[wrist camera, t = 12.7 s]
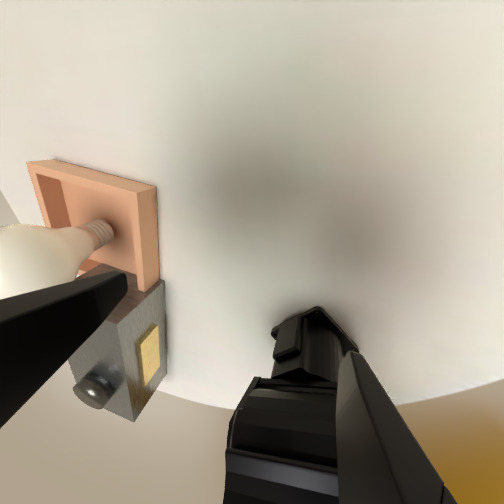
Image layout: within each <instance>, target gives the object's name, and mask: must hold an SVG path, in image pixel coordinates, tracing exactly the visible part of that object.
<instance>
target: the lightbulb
mask: <svg viewBox="0 0 504 504" xmlns="http://www.w3.org/2000/svg"><path fill="white" fill-rule="evenodd" d="M113 240H114V232H113V229H112V228H111V226H110V225H109V224H108V223H107V222H105V221H104V220H101V219H95V220H93V221H90V222H88V223H85V224H82V225H80V226H77V227H63V228H48V227H43V226H37V225H29V224H14V225H7V226H2V227H0V299H4V298H8V297H12V296H16V295H20V294H24V293H28V292H32V291H36V290H40V289H43V288H47V287H51V286H55V285H59V284H63V283H67V282H71V281H74V279H75V278H76V275H77V273H78V271H79V268H80V266H81V264H82V263H83V262H84V261H85V260H86V259H88V258H89V257H90V256H91V255H92V253H93V252H94V251H96V250H97V249H98V248H101V247H103V246H105V245H107V244H108V243H111V242H112V241H113Z"/></svg>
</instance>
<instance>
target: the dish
mask: <svg viewBox="0 0 504 504" xmlns="http://www.w3.org/2000/svg"><path fill="white" fill-rule="evenodd" d="M26 164H27V167H28V171H29V174H30V177H31V181H32V184H33V187H34V190H35V194H36V197H37V200H38V203H39V207H40V210H41V213H42V217H43V220H44V223H45V226H46V227H48V228H63V227H77V226H80V225H82V224H85V223H88V222H90V221H93V220H95V219H101V220H104V221H105V222H107V223H108V224H109V225H110V226H111V228H112V229H113V232H114V240H113V241H112V242H111V243H108V244H107V245H105V246H103V247H101V248H98V249H97V250H96V251H94V252H93V253H92V255H91V256H90V257H89V258H88V259H86V260H85V261H84V262H83V263H82V264H81V266H80V268H79V271H78V273H77V274H79V275H82V274H84V273H86V272H87V271H89V270H91V269H93V268H94V267H96V266H98V265H100V264H101V263H104V264H107V265H110V266H112V267H115V268H118V269H121V270H124V271H127V272H130V273H133V274H136V275H137V282H138V290H140V291H143V292H146V291H147V290H148V289H149V288H150V287H151V286H152V285H154V284H155V283H156V282H157V281H158V280H159V253H158V227H157V200H156V187H155V186H151V185H147V184H144V183H140V182H136V181H132V180H129V179H125V178H121V177H118V176H114V175H110V174H106V173H103V172H99V171H95V170H91V169H88V168H84V167H80V166H77V165H73V164H69V163H65V162H62V161H58V160H54V159H53V160H42V161H31V162H26Z"/></svg>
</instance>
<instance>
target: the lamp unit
mask: <svg viewBox="0 0 504 504" xmlns="http://www.w3.org/2000/svg"><path fill="white" fill-rule="evenodd" d="M114 270H118V271H121V272H124V273H126V275H127V281H128V292H127V294H126V295H125V296H124V298H123V299H122V300H121V301H120V303H119V304H118V305H117V306H116V308H115V309H114V310H113V311H112V312H111V314H110V315H109V316H108V317H107V319H106V320H105V321H104V322H103V323H102V325H101V326H100V327H99V328H98V329H97V330H96V331H95V332H94V333H93V334H92V335H91V336H90V337H89V338H88V339H87V340H86V341H85V342H84V343H83V344H82V345H81V346H80V347H79V348H78V349H77V350H76V351H75V352H74V353H73V354H72V356H71V357H70V358H69V359H68V361H69V364H70V367H71V370H72V372H73V375H74V378H75V380H76V383H77V384H76V385H75V386H74V387H73V391H74V393H75V394H76V395H77V397H78V398H79V399H80V400H81V401H83V402H84V403H85V404H87V405H89V406H91V407H93V408H96V409H102V408H104V409H106V410H108V411H111V412H113V413H115V414H117V415H119V416H122V417H123V418H126V419H128V420H130V421H132V422H135V420H136V419H137V417H138V416H139V414H140V413H141V411H142V410H143V408H144V407H145V405H146V404H147V402H148V401H149V399H150V398H151V396H152V395H153V393H154V392H155V390H156V389H157V387H158V386H159V384H160V383H161V381H162V380H163V378H164V377H165V375H166V374H167V365H166V323H165V281H163V280H160V279H159V280H158V281H157V282H156V283H155V284H154V285H152V286H151V287H150V288H149V289H148V290H147V291H146V292H143V291H140V290H138V282H137V275H136V274H133V273H130V272H127V271H124V270H121V269H118V268H115V267H112V266H110V265H107V264H104V263H101V264H100V265H98V266H96V267H94V268H93V269H91V270H89V271H87V272H86V273H84V274H82V275H80V276H79V277H77V278H75V279H74V281H75V280H79V279H83V278H86V277H90V276H94V275H98V274H102V273H106V272H110V271H114Z"/></svg>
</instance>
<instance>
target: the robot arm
mask: <svg viewBox="0 0 504 504" xmlns="http://www.w3.org/2000/svg"><path fill="white" fill-rule="evenodd" d="M127 292H128V281H127V275H126V273H124V272H121V271H118V270H114V271H110V272H106V273H102V274H98V275H94V276H90V277H86V278H83V279H79V280H75V281H71V282H67V283H63V284H59V285H55V286H51V287H47V288H43V289H40V290H36V291H32V292H28V293H24V294H20V295H16V296H12V297H8V298H4V299H0V428H1V427H2V426H3V425H4V424H5V423H6V422H7V421H8V420H9V419H10V418H11V417H12V416H13V415H14V414H15V413H16V412H17V411H18V410H19V409H20V408H21V407H22V406H23V405H24V404H25V403H26V402H27V401H28V400H29V399H30V398H31V397H32V396H33V394H35V392H36V391H37V390H38V389H39V388H40V387H41V386H42V385H43V384H44V383H45V382H46V381H47V380H48V379H49V378H50V377H51V376H52V375H53V374H54V373H55V372H56V371H57V370H58V369H59V368H60V367H61V366H62V365H63V364H64V363H65V362H66V361H67V360H68V359H69V358H70V357H71V356H72V354H73V353H74V352H75V351H76V350H77V349H78V348H79V347H80V346H81V345H82V344H83V343H84V342H85V341H86V340H87V339H88V338H89V337H90V336H91V335H92V334H93V333H94V332H95V331H96V330H97V329H98V328H99V327H100V326H101V325H102V323H103V322H104V321H105V320H106V319H107V317H108V316H109V315H110V314H111V312H112V311H113V310H114V309H115V308H116V306H117V305H118V304H119V303H120V301H121V300H122V299H123V298H124V296H125V295H126V294H127ZM317 312H320V313H317ZM276 333H277V334H276ZM271 336H272V337H273V338H274V339H275V340H276V343H275V348H274V352H273V359H274V360H275V362H274V366H273V371H272V375H271V379H270V378H261V377H254V378H253V380H252V382H251V383H250V385H249V387H248V389H247V390H246V392H245V394H244V396H243V397H242V399H241V401H240V403H239V404H238V406H237V408H236V410H235V411H234V414H233V416H232V418H231V420H230V422H229V430H228V436H227V449H226V452H225V459H226V478H225V492H224V499H223V504H457V502H456V501H455V499H454V498H453V496H452V495H451V493H450V492H449V490H448V489H447V487H446V486H444V482H443V481H442V480H441V478H440V476H439V474H438V473H437V471H436V470H435V468H434V467H433V465H432V464H431V462H430V460H429V459H428V458H427V456H426V454H425V453H424V451H423V450H422V448H421V446H420V445H419V443H418V442H417V440H416V438H415V437H414V435H413V434H412V432H411V431H410V429H409V427H408V426H407V424H406V423H405V421H404V420H403V418H402V416H401V415H400V413H399V412H398V410H397V409H396V407H395V405H394V404H393V402H392V401H391V399H390V398H389V396H388V395H387V393H386V391H385V390H384V388H383V387H382V385H381V384H380V382H379V380H378V379H377V377H376V376H375V374H374V373H373V371H372V369H371V368H370V366H369V365H368V363H367V362H366V360H365V358H364V357H363V356H362V355H361V354H359V348H358V347H357V346H356V345H355V343H354V342H353V341H352V340H351V339H350V338H349V337H348V336H347V335H346V334H345V333H344V332H343V330H342V329H341V328H340V327H339V326H338V325H337V324H336V323H335V322H334V321H333V320H332V319H331V317H330V316H329V315H328V314H327V313H326V312H325V311H324V310H323V309H322V308H320V307H315V308H313V309H311V310H309V311H307V312H305V313H303V314H301V315H297V316H295V317H293V318H292V319H290V320H288V321H286V322H284V323H282V324H280V326H278V327H276V328H274V329H272V331H271Z"/></svg>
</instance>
